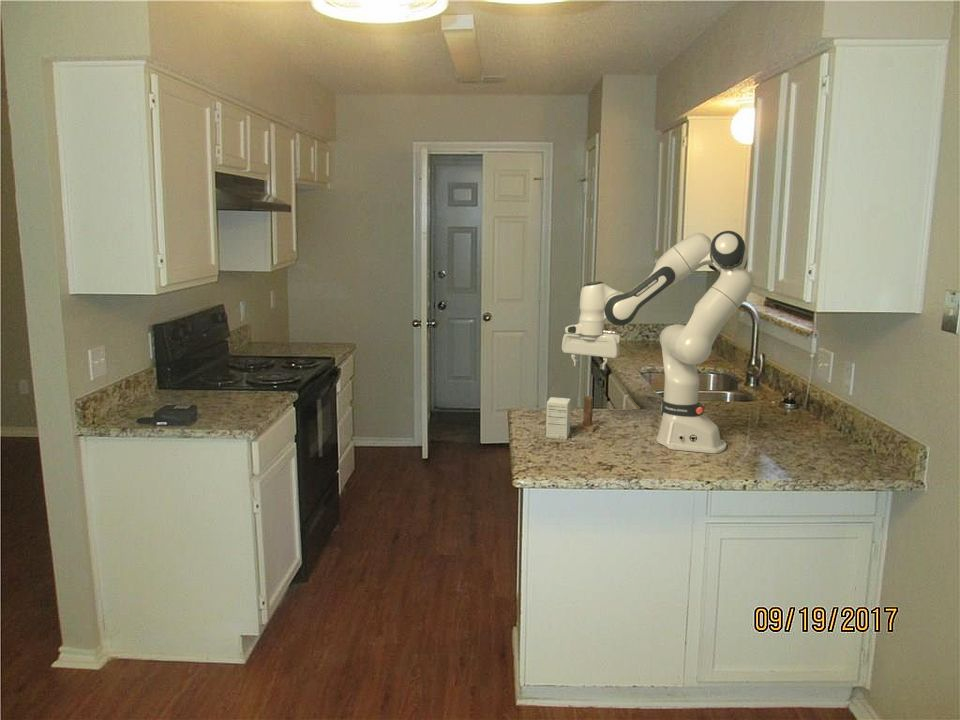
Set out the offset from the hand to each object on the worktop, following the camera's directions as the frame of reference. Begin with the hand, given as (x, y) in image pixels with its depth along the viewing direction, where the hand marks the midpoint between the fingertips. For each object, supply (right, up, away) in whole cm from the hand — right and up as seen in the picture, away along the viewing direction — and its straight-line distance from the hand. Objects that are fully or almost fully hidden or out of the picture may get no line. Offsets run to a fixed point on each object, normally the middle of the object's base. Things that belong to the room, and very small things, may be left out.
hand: (589, 367), depth 261 cm
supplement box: (-11, -23, -4) cm, 26 cm away
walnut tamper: (0, -22, +4) cm, 22 cm away
